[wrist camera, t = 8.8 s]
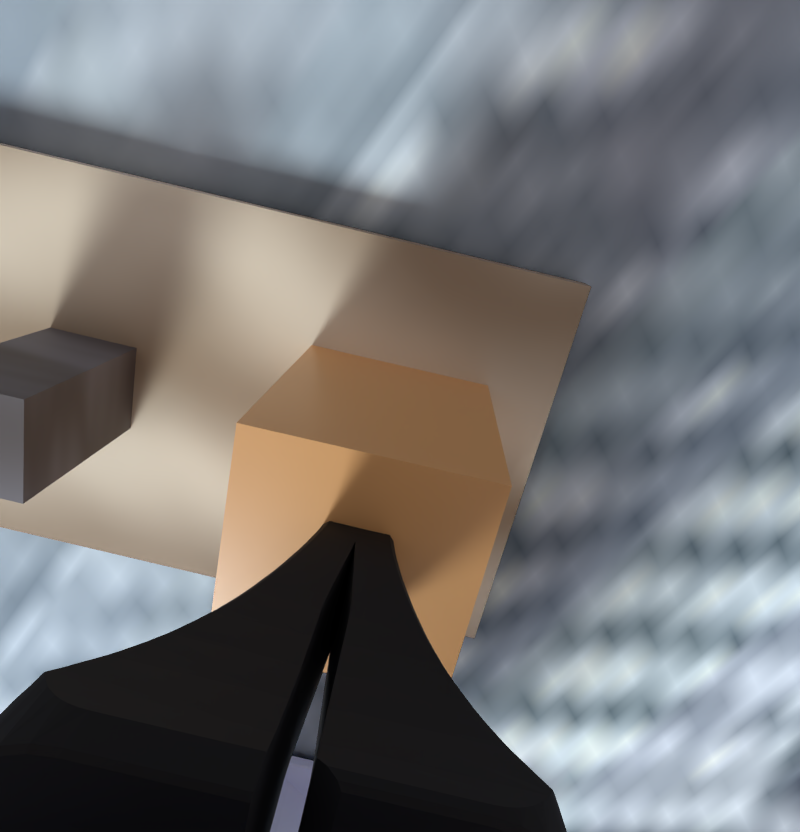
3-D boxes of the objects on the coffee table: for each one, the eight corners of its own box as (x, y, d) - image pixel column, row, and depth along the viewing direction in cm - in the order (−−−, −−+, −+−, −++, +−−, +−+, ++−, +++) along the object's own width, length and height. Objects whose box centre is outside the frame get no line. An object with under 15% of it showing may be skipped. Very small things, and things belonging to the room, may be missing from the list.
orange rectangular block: (444, 538, 19) (444, 700, 13) (284, 501, 19) (206, 646, 13) (488, 385, 17) (511, 486, 11) (312, 344, 17) (236, 423, 11)
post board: (473, 622, 21) (482, 769, 15) (-31, 504, 21) (-200, 610, 15) (584, 283, 17) (651, 320, 11) (-40, 133, 17) (-275, 97, 11)
